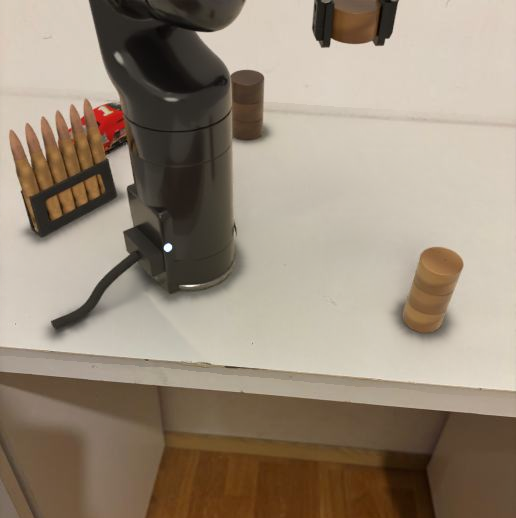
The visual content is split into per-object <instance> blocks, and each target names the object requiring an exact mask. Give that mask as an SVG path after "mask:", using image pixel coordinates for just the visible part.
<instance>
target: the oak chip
mask: <svg viewBox="0 0 516 518" xmlns="http://www.w3.org/2000/svg"><path fill="white" fill-rule="evenodd" d="M333 2H334V3H335V5H334V15H333V24H332V33H331V40H333V41H335V42H338V43H343V44H347V45H361V44H362V45H363V44H368V43H370V42H373V40H374V39H375V38H376V34H377V28H378V22H379V15H380V9H381V4H380V3H379V2H378V1H377V0H333Z"/></svg>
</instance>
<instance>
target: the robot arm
mask: <svg viewBox="0 0 516 518" xmlns="http://www.w3.org/2000/svg"><path fill="white" fill-rule="evenodd" d="M377 1H378V2H379V3H380V4H381V9H380V15H379V22H378V28H377V34H376V38H375V39H374V40H373V41H372V43H373V45H374V46H375V47H383V46H385V43H386V40H389V39H390V38H391V37H392V35H393V31H394V27H395V22H396V15H397V11H398V6H399V5H398V4H399V1H400V0H377ZM246 3H247V0H88V4H89V9H90V12H91V17H92V21H93V25H94V30H95V35H96V39H97V43H98V48H99V52H100V56H101V60H102V64H103V66H104V70H105V72H106V75H107V77H108V78H109V80H110V82H111V84H112V85H113V87H114V88H115V90H116V92H117V94H118V97H119V102H120V103H121V108H122V112H123V118H124V124H125V130H126V136H127V140H126V142H127V148H128V154H129V161H130V165H131V166H130V167H131V174H132V179H133V182H132V183H131V184H128V185H127V186H126V193H127V199H128V204H129V210H130V216H131V222H132V227H130V228H128V229H125V230H123V231H122V234H123V238H124V244H125V249H126V250H125V251H126V252H127V253H128V255H127V256H126V257H125V258H123V259H122V260H121V261H120V262H119V263H117V264H116V265H115V266H114V267H112V268H111V269H110V270H109V271H108V272H107V273H106V274H105V275H104V276H103V277H102V278H101V279H100V280H99V282H98V283H97V284H96V285H95V287H94V289H92V291H91V294H90V295H89V296H88V298H87V299H86V301H85V302H84V303H83V304H81V306H80V307H78V308H77V309H75V310H74V311H72V312H70V313H67V314H64V315H62V316H59V317H57V318H55V319H52V320H50V323H51V326H52V328H53V329H54V331H58V330H59V329H62V328H63V327H67V326H69V325H71V324H74V323H76V322H78V321H80V320H82V319H83V318H85V317H86V316H87V315H89V314H90V313H91V312H92V311H93V310H94V309H95V307H96V306H97V305H98V303H99V301H100V300H101V298H102V296H103V295H104V293H105V292H106V291H107V289H108V288H109V287H110V286H111V285H112V284H113V283H114V282H115V281H116V280H118V279H119V277H121V276H122V275H123V274H124V273H125V272H127V271H128V270H129V269H130V268H132V267H133V266H134V265H135V264H136V263H138V264H139V265H140V267H142V268H143V270H144V271H145V272H146V273H147V274H148V276H150V277H151V278H152V279H153V280H154V281H156V282H157V283H158V284H159V286H161V287H162V288H163V290H165V291H166V292H167V294H169V295H171V294H174V293H177V292H180V291H184V292H185V291H187V292H189V291H190V292H191V291H193V292H194V291H200V290H205V289H209V288H211V287H214V286H217V285H218V284H220V283H222V282H223V281H224V280H226V279H227V278H228V277H229V276H230V275H231V274H232V272H233V271H234V268H235V265H236V250H235V236H236V238H237V237H238V233H237V232H238V231H237V224H236V222H235V212H234V208H235V207H234V206H235V205H234V158H233V157H234V156H233V155H234V153H233V152H234V150H233V147H234V146H233V135H232V83H231V74H230V70H229V69H228V67H227V65H226V64H225V62H224V61H223V60H222V59H221V58H220V57H219V56H218V55H217V54H216V53H215V52H214V51H213V50H212V49H211V48H210V47H209V46H208V45H207V44H206V43H205V42H204V41H203V39H202V38H201V37H200V35H199V34H198V33H215V32H218V31H222V30H224V29H226V28H228V27H229V26H230V25H232V24H233V23H234V22H235V21H236V20H237V18H238V17H239V16H240V14H241V12H242V11H243V8H244V6H245V4H246ZM334 5H335V3H334V2H333V0H313V13H312V22H311V23H312V24H311V30H312V33H313V37H314V39H315V41H316V42H318V43H319V46H320V48H321V49H327V48H328V49H329V48H330V47H331V44H332V43H331V40H332V38H331V33H332V24H333V15H334Z"/></svg>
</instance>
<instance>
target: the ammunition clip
mask: <svg viewBox="0 0 516 518" xmlns="http://www.w3.org/2000/svg"><path fill="white" fill-rule="evenodd" d="M82 109H83V116H84V119H85V124H86V125H85V126H86V136H87V138H86V136H85V132H84V129H83V125H82V122H81V116H80V113H79V111H78V109H77V107H76V106H75V105H74V104H73V103H71V104H70V106H69V122H70V128H72V134H73V143H72V140H71V137H70V134H69V130H68V129H69V128H68V125H67V122H66V120H65V118H64V116H63V113H61V111H60V110H59V109H57V110H56V111H55V120H54V121H55V128H56V129H55V130H56V133H57V138H58V139H59V145H60V151H59V148H58V142H57V141H56V137H55V134H54V132H53V129H52V127H51V125H50V123H49V121H48V120H47V118H46V117H45V116H41V119H40V132H41V138H42V141H43V146H44V152H45V154H44V152H43V149H42V147H41V144H40V141H39V138H38V136H37V133H36V132H35V130H34V129H33V128H34V127H32V126H31V124H30V123H29V122H26V123H25V127H24V134H25V142H26V145H27V147H28V148H27V149H28V153H29V157H30V158H29V159H30V162H29V159H28V157H27V154H26V152H25V149H24V145H23V144H22V141H21V139H20V138H19V136H18V134H17V133H16V132H15V131H14V130H13V129H9V133H8V140H9V146H10V151H11V155H12V158H13V162H14V166H15V173H16V177H17V180H18V183H19V185H20V189H21V190H20V194H21V197H22V201H23V204H24V208H25V212H26V214H27V218H28V221H29V225H30V229H31V231H32V232H34V233H35V234H36V235H38V236H39V237H40V238H43V237H46V236H47V235H49V234H52V233H53V232H55V231H56V230H58V229H60V228H62V227H65V226H66V225H68V224H70V223H72V222H73V221H75V220H77V219H79V218H81V217H83V216H85V215H87V214H89V213H91V212H92V211H94V210H96V209H97V208H99V207H101V206H103V205H105V204H107V203H108V202H110V201H113V200H115V199H116V198H117V197H118V193H117V189H116V185H115V181H114V177H113V176H114V175H113V172H112V168H111V165H110V161H109V158H107V157H106V153H105V151H104V146H103V141H102V137H101V134H100V132H99V129H98V125H97V122H96V118H95V114H94V111H93V109H94V108H93V106H92V105H91V102H90V101H89V100H88V98H87V97H85V98H84V99H83V106H82ZM58 139H57V140H58Z"/></svg>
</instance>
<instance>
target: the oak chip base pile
mask: <svg viewBox="0 0 516 518" xmlns="http://www.w3.org/2000/svg"><path fill="white" fill-rule="evenodd" d="M419 255H420V256H419V259H418V262H417V266H416V269H415V271H414V275H413V278H412V282H411V284H410V288H409V292H408V295H407V298H406V301H405V305H404V308H403V311H402V320H403V322H404V324H405V325H406V326H407V327H408V328H410V329H411V330H412V331H415V332H418V333H424V334H426V333H427V334H428V333H433V332H435V331H437V330H438V329H440V328H441V326H442V324H443V321H444V318H445V315H446V313H447V311H448V308H449V305H450V302H451V300H452V297H453V294H454V292H455V289H456V287H457V284H458V283H459V282H458V281H459V279H460V276H461V274H462V271H463V269H464V261H463V258H462V257H461V255H460V254H459V253H457V252H456V251H454V250H452V249H450V248H447V247H443V246H442V247H441V246H432V247H428V248H426V249H424V250H423V251H422V252H421V253H420V254H419Z"/></svg>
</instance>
